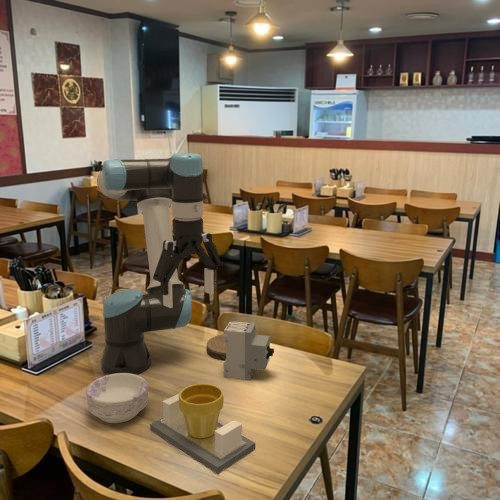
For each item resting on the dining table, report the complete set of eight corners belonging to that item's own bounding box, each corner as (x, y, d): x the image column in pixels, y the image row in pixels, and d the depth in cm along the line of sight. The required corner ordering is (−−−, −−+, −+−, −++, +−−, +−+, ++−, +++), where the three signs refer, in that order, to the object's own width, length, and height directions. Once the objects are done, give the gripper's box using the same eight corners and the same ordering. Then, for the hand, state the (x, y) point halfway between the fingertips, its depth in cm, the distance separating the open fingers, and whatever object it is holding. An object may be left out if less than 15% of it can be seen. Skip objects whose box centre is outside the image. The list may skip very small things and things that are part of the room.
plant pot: (197, 414, 129) (197, 378, 127) (232, 426, 124) (231, 389, 121) (170, 434, 120) (169, 396, 118) (206, 448, 115) (205, 409, 113)
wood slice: (197, 350, 171) (197, 341, 171) (234, 338, 182) (234, 330, 181) (226, 366, 160) (226, 357, 159) (264, 352, 170) (264, 344, 169)
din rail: (159, 422, 126) (159, 420, 126) (184, 409, 132) (184, 407, 132) (221, 461, 112) (221, 458, 112) (246, 444, 117) (246, 442, 117)
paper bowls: (151, 424, 128) (150, 396, 126) (88, 434, 124) (85, 405, 122) (146, 395, 142) (144, 368, 140) (88, 403, 138) (86, 376, 136)
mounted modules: (163, 419, 126) (162, 401, 125) (182, 409, 131) (181, 392, 130) (222, 455, 113) (222, 435, 111) (241, 443, 117) (241, 424, 116)
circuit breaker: (270, 382, 149) (271, 334, 146) (223, 377, 152) (222, 330, 149) (274, 370, 156) (275, 324, 153) (229, 366, 159) (229, 321, 156)
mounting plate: (150, 429, 126) (150, 424, 125) (187, 410, 134) (187, 405, 134) (217, 473, 110) (217, 467, 110) (255, 448, 118) (255, 442, 118)
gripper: (155, 228, 114) (158, 316, 119) (234, 213, 131) (234, 291, 137) (135, 222, 119) (139, 308, 124) (214, 209, 136) (215, 284, 142)
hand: (189, 299), depth 131 cm, fingers open, 13 cm apart
